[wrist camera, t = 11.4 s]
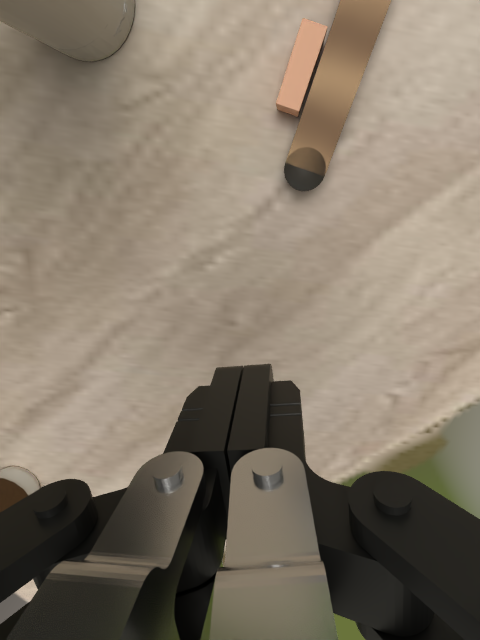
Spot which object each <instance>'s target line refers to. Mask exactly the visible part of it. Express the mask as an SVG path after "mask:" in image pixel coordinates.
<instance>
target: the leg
mask: <svg viewBox="0 0 480 640" xmlns="http://www.w3.org/2000/svg"><path fill="white" fill-rule="evenodd" d="M390 2H391V0H340V3H339V6H338V9H337V12H336V15H335V18H334V21H333V24H332V27H331V30H330V33H329V36H328V39H327V42H326V45H325V48H324V51H323V54H322V57H321V60H320V62H319V65H318V68H317V71H316V74H315V77H314V80H313V83H312V86H311V89H310V92H309V95H308V98H307V101H306V104H305V107H304V110H303V113H302V116H301V119H300V122H299V124H298V127H297V130H296V133H295V136H294V139H293V142H292V145H291V148H290V151H289V154H288V157H287V160H286V163H285V167H284V173H285V178H286V180H287V182H288V183H289V184H290V186H292V187H293V188H294V189H296V190H299V191H309V190H312V189H314V188H315V187H317V186H318V185H319V184H320V183H321V182H322V180H323V178H324V176H325V173H326V171H327V168H328V165H329V163H330V160H331V158H332V155H333V152H334V150H335V147H336V144H337V142H338V139H339V137H340V134H341V131H342V129H343V126H344V123H345V121H346V118H347V115H348V113H349V110H350V108H351V105H352V102H353V100H354V97H355V94H356V92H357V89H358V86H359V84H360V81H361V79H362V76H363V73H364V71H365V68H366V65H367V63H368V60H369V58H370V55H371V52H372V50H373V47H374V44H375V42H376V39H377V36H378V34H379V31H380V29H381V26H382V23H383V21H384V18H385V15H386V13H387V10H388V7H389V5H390Z"/></svg>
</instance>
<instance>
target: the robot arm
mask: <svg viewBox="0 0 480 640" xmlns="http://www.w3.org/2000/svg"><path fill="white" fill-rule="evenodd" d="M134 9H135V0H0V21H1V22H3V23H5V24H7V25H9V26H11V27H13V28H15V29H17V30H19V31H21V32H23V33H25V34H27V35H29V36H31V37H33V38H35V39H37V40H39V41H40V42H42V43H44V44H46V45H48V46H50V47H52V48H54V49H56V50H58V51H60V52H62V53H64V54H66V55H68V56H70V57H72V58H75V59H78V60H81V61H90V62H91V61H98V60H102V59H104V58H106V57H109V56H110V55H112V54H113V53H114V52H116V51H117V50H118V49H119V48H120V46H121V45H122V44H123V43H124V41H125V40H126V38H127V36H128V34H129V32H130V30H131V26H132V22H133V18H134ZM226 539H227V541H226V555H225V565H224V567H223V562H222V558H223V553H224V546H225V540H226ZM32 579H33V580H34V582H35V584H36V586H37V589H38V591H37V592H36V594H35V595H34V597H33V599H32V600H31V601H30V602H29V603H27V604H26V605H25V606H23V607H22V608H21V609H20V610H18V611H17V612H16V613H14V614H13V615H12V616H10V617H9V618H8V619H7V620H5V621H4V622H3V623H1V624H0V640H338V637H337V631H336V626H335V620H334V615H333V613H335V614H337V615H340V616H343V617H345V618H348V619H350V620H353V621H355V622H356V624H357V627H358V629H359V630H360V633H361V634H362V636H363V637H364V638H365V639H366V640H480V519H478V518H477V517H475V516H474V515H472V514H470V513H469V512H467V511H466V510H464V509H462V508H460V507H459V506H458V505H456V504H454V503H453V502H451V501H450V500H448V499H446V498H445V497H443V496H442V495H440V494H439V493H437V492H435V491H434V490H432V489H431V488H429V487H427V486H426V485H424V484H423V483H421V482H420V481H418V480H416V479H414V478H412V477H410V476H407V475H404V474H401V473H397V472H390V471H379V472H373V473H369V474H366V475H364V476H362V477H360V478H359V479H357V480H356V481H355V482H354V483H353V485H352V486H351V487H348V486H344V485H339V484H336V483H332V482H329V481H327V480H325V479H323V478H321V477H319V476H318V475H317V474H315V473H314V472H313V471H312V470H311V469H310V468H309V466H308V465H307V463H306V458H305V444H304V432H303V420H302V409H301V398H300V390H299V389H298V388H297V387H296V385H295V384H294V383H293V382H292V381H275V382H274V381H273V373H272V366H271V364H262V365H247V366H244V367H243V366H234V367H219V368H216V370H215V373H214V376H213V379H212V382H211V385H210V386H199V387H198V388H196V389H195V390H194V391H193V392H192V393H191V394H190V395H189V396H188V397H187V398H186V401H185V403H184V406H183V408H182V411H181V413H180V415H179V417H178V422H176V425H175V427H174V429H173V432H172V434H171V436H170V439H169V441H168V443H167V446H166V448H165V451H164V453H163V454H162V455H159V456H157V457H155V458H153V459H151V460H149V461H148V462H146V463H145V464H144V465H143V466H142V467H141V468H140V469H139V470H138V471H137V473H136V474H135V476H134V478H133V480H132V481H131V483H130V485H129V486H128V487H127V488H124V489H121V490H118V491H114V492H111V493H107V494H103V495H100V496H96V497H92V494H91V491H90V488H89V486H88V485H87V484H86V483H85V482H83V481H81V480H77V479H66V480H61V481H57V482H54V483H51V484H48V485H46V486H44V487H42V488H40V489H39V490H37V491H35V492H34V493H32V494H30V495H29V496H27V497H25V498H24V499H22V500H20V501H19V502H17V503H15V504H14V505H12V506H10V507H9V508H7V509H5V510H4V511H2V512H0V603H1V602H2V601H3V600H5V599H6V598H7V597H9V596H10V595H11V594H13V593H14V592H16V591H17V590H18V589H20V588H21V587H22V586H24V585H25V584H26V583H28V582H29V581H31V580H32Z"/></svg>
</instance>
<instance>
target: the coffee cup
mask: <svg viewBox="0 0 480 640" xmlns="http://www.w3.org/2000/svg"><path fill="white" fill-rule="evenodd" d="M39 489H40V486H39V482H38V480H37V478H36V477H35V476H34V475H33V474H32V473H31V472H30V471H28V470H27V469H24V468H21V467H17V466H10V467H7V468H4V469H2V470H0V512H2V511H4V510H5V509H7V508H9V507H10V506H12V505H14V504H15V503H17V502H19V501H20V500H22V499H24V498H25V497H27V496H29V495H30V494H32V493H34V492H35V491H37V490H39Z"/></svg>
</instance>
